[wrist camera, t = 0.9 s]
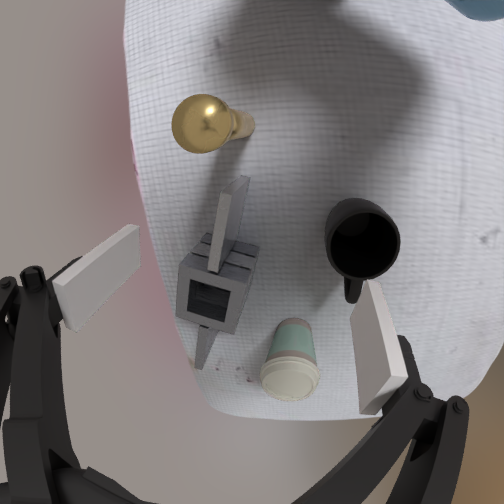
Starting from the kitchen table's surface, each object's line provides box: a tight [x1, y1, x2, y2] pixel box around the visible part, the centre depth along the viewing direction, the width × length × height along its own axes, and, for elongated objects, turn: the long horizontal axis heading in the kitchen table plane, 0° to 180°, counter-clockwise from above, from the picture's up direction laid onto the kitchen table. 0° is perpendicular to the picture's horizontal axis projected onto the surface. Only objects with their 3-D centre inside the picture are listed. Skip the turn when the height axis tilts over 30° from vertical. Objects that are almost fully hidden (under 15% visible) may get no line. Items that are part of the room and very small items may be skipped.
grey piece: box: [190, 175, 256, 316], centre depth 35 cm, size 17×8×10 cm, turn 168°
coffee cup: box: [260, 318, 320, 401], centre depth 40 cm, size 9×8×12 cm
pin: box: [172, 94, 255, 153], centre depth 26 cm, size 5×5×15 cm
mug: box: [325, 198, 400, 304], centre depth 32 cm, size 8×12×10 cm
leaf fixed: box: [176, 233, 260, 370], centre depth 39 cm, size 17×8×10 cm, turn 168°
